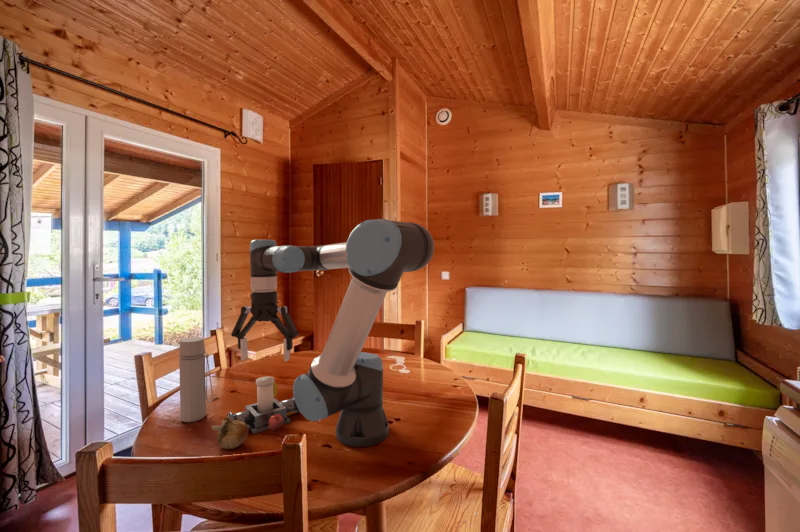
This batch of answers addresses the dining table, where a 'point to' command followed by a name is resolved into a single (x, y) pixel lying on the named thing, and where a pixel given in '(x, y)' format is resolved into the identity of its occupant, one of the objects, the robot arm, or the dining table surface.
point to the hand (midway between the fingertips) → (265, 359)
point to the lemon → (274, 389)
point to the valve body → (266, 416)
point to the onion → (231, 433)
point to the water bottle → (193, 379)
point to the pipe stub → (264, 394)
